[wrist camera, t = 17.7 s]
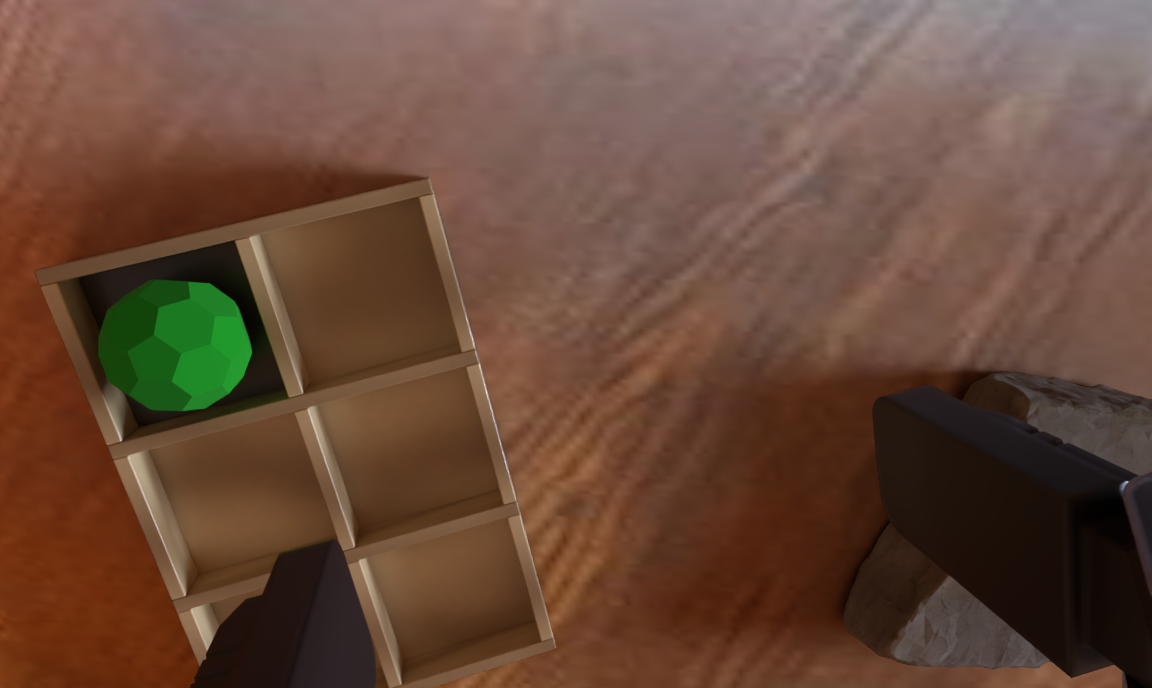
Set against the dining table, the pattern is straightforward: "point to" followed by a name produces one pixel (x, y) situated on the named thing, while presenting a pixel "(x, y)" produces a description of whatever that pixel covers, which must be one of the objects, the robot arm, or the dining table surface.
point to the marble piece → (933, 598)
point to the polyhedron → (174, 345)
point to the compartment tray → (326, 432)
